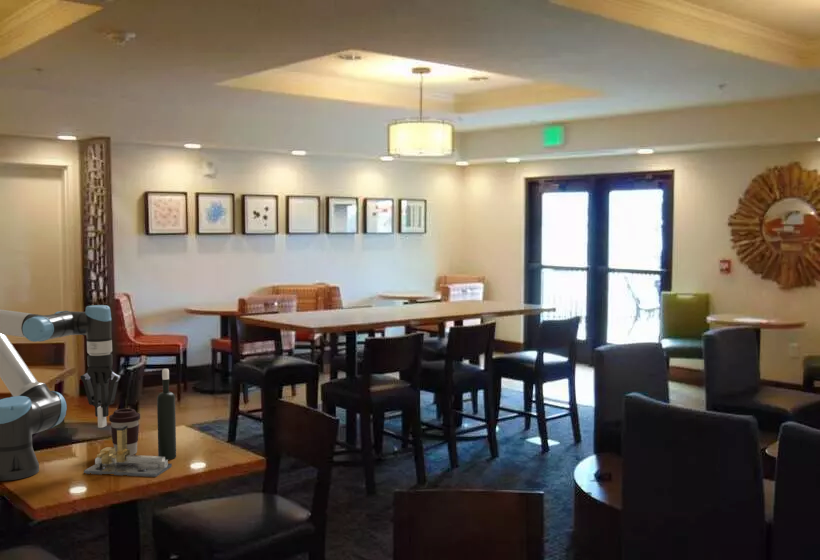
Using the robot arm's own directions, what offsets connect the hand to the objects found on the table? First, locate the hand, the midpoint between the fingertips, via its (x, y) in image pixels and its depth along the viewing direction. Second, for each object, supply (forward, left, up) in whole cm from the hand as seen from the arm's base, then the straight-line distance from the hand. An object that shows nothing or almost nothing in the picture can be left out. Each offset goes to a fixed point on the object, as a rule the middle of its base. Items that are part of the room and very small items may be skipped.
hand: (102, 426), depth 258 cm
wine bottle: (+16, +13, -13) cm, 24 cm away
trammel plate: (+10, -2, -13) cm, 16 cm away
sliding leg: (+7, -2, -12) cm, 14 cm away
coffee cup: (0, +15, -14) cm, 20 cm away
